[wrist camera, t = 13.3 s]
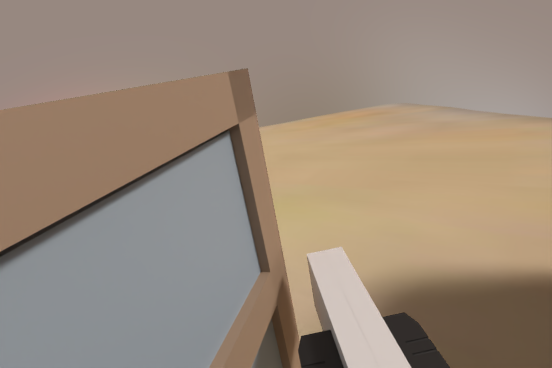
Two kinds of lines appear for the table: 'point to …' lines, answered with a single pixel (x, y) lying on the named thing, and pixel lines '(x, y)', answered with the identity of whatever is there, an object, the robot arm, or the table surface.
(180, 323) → the gate leaf
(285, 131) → the table surface
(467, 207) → the table surface
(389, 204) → the table surface
